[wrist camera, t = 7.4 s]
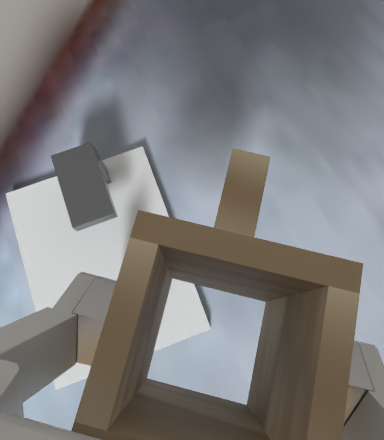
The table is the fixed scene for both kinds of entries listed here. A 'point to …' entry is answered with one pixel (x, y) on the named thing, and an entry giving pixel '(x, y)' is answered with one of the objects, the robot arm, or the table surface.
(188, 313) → the base plate
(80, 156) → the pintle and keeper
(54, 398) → the table surface
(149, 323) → the wooden pencil holder
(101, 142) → the table surface
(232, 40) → the table surface
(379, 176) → the table surface
